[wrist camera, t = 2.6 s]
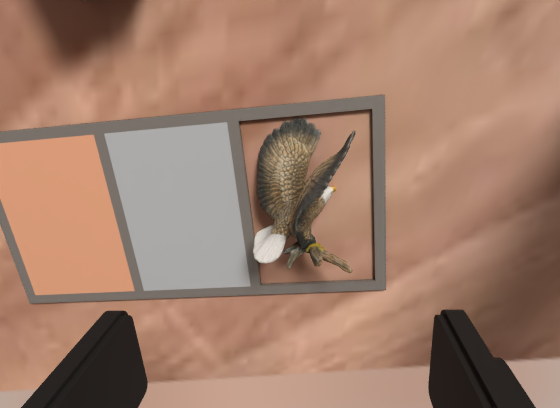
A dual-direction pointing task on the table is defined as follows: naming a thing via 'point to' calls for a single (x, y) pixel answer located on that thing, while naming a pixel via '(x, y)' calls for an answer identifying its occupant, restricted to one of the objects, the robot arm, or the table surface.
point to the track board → (152, 206)
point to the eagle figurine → (294, 193)
